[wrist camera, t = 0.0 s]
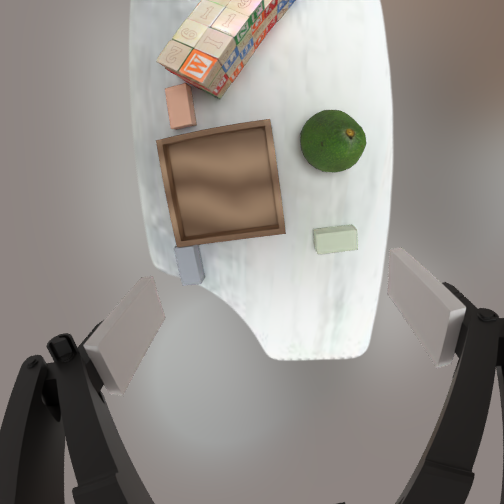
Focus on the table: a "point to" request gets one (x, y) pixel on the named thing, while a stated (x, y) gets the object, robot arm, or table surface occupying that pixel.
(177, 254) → the slate brick
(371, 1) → the table surface
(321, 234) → the sage brick
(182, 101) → the terracotta brick
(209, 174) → the tray
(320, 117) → the fruit
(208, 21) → the stack of blocks
